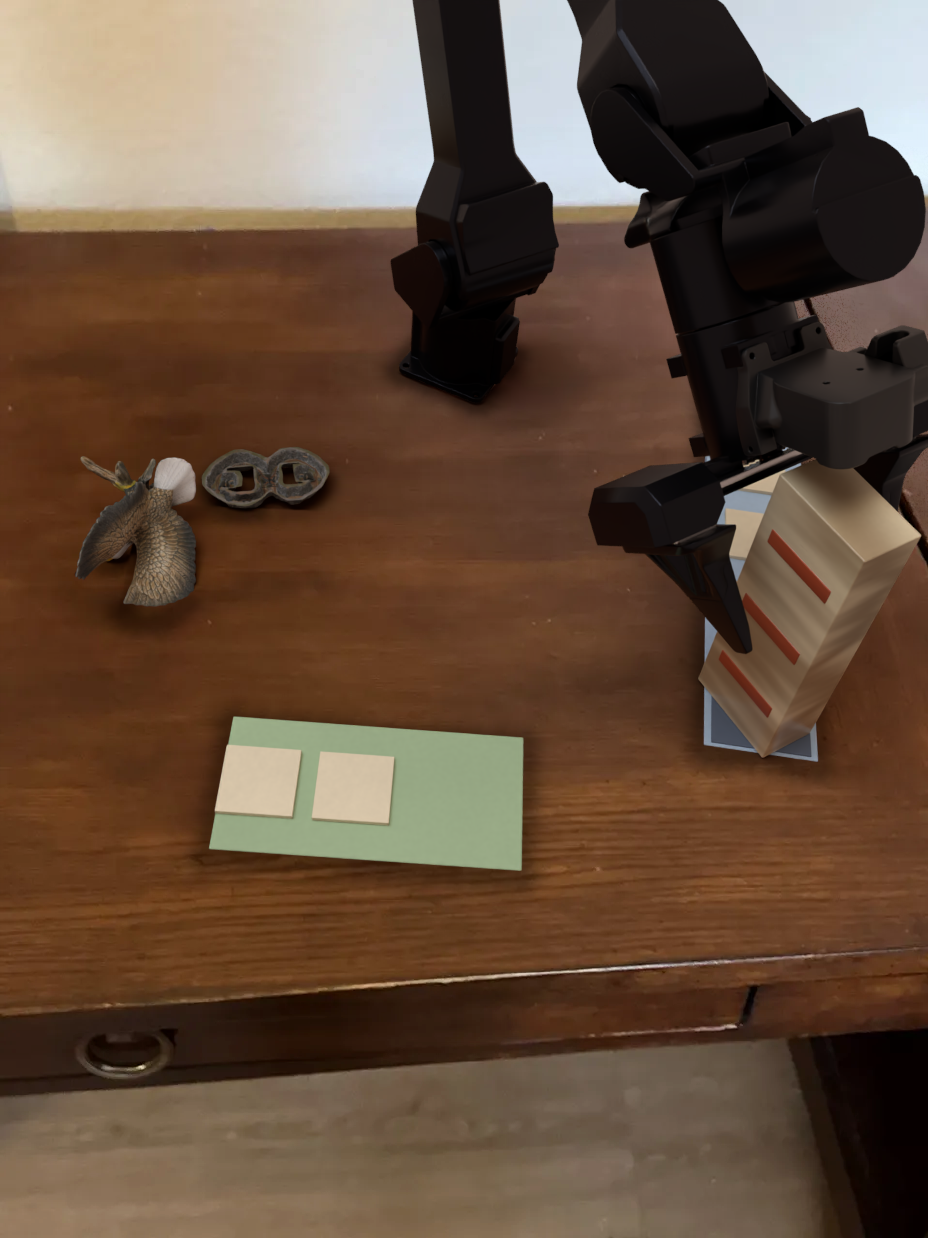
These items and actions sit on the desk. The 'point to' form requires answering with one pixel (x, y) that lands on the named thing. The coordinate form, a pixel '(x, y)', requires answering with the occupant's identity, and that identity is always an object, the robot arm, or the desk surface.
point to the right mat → (718, 727)
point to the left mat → (371, 794)
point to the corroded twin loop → (265, 476)
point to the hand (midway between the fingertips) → (813, 617)
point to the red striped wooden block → (807, 600)
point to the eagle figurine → (146, 531)
